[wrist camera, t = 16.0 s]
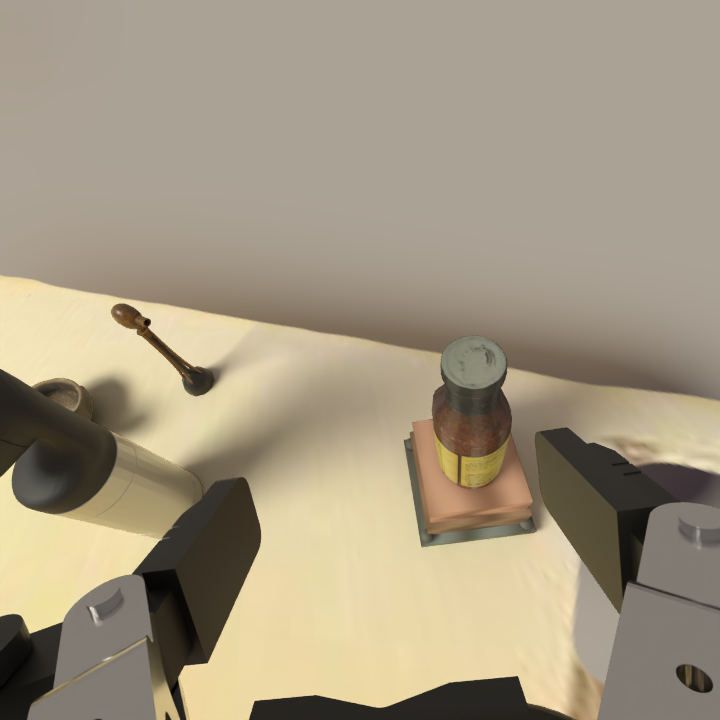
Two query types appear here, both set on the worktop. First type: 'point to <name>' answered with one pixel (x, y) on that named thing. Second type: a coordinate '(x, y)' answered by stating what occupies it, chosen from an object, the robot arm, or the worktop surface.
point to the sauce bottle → (471, 412)
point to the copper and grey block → (465, 496)
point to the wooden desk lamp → (164, 350)
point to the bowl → (67, 395)
